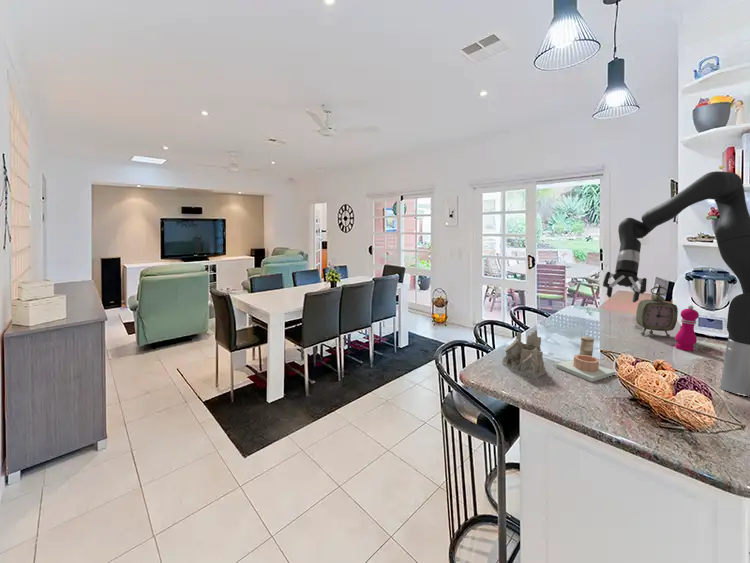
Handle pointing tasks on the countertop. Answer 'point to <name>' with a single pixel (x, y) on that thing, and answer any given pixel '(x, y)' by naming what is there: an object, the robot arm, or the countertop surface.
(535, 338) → the grey-brown toy castle
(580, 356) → the flat grey base plate
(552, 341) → the countertop surface
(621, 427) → the countertop surface
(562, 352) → the countertop surface
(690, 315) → the pepper mill
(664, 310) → the tabletop clock
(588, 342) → the birch plug
